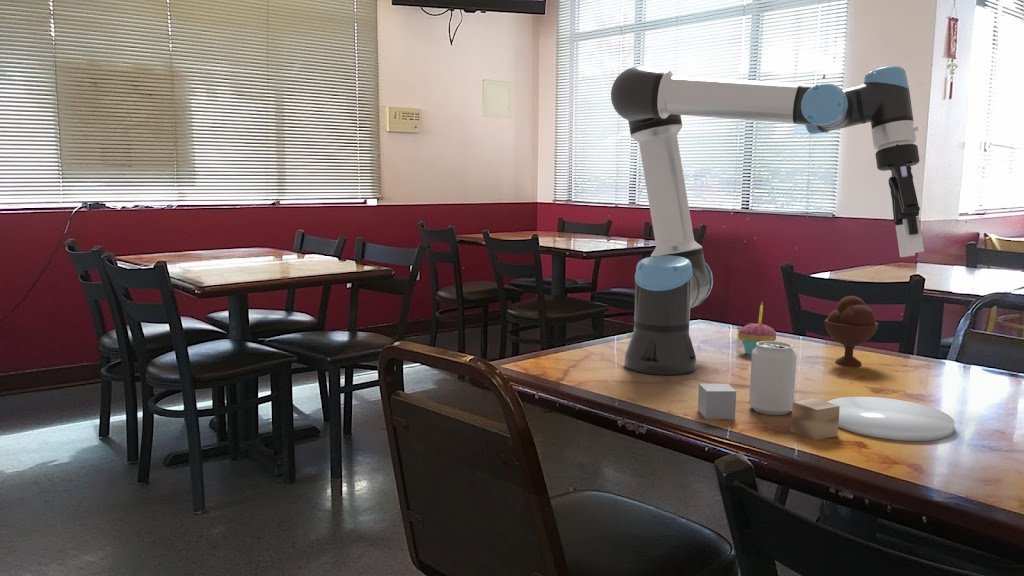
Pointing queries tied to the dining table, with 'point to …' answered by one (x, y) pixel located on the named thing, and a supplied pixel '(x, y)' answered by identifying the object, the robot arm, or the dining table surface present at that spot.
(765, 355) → the can
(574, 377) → the dining table surface
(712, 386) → the gray block
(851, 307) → the ice cream bowl
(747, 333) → the cupcake
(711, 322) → the dining table surface
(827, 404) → the wooden cube
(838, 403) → the plate
